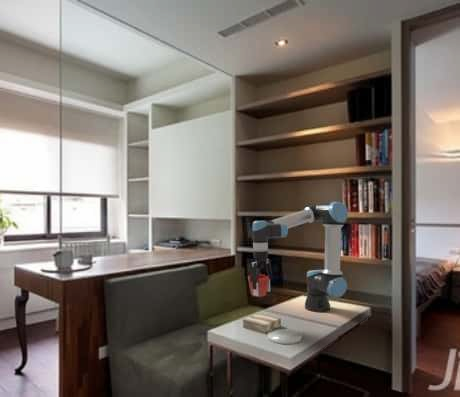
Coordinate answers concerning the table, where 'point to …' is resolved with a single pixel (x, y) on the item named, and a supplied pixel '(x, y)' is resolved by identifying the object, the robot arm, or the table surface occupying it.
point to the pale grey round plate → (284, 336)
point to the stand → (262, 323)
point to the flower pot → (260, 285)
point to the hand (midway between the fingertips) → (261, 293)
